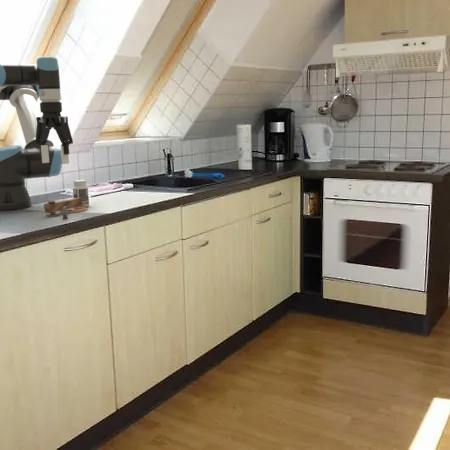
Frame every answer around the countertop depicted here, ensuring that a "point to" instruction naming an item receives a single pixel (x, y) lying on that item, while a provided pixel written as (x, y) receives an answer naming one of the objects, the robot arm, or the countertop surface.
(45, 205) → the leg bar
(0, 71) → the robot arm
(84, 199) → the pill bottle
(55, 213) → the pivot pin
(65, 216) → the stop peg
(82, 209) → the coaster
